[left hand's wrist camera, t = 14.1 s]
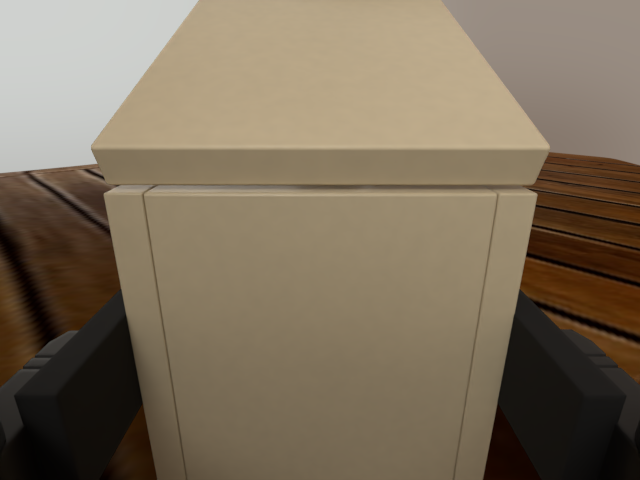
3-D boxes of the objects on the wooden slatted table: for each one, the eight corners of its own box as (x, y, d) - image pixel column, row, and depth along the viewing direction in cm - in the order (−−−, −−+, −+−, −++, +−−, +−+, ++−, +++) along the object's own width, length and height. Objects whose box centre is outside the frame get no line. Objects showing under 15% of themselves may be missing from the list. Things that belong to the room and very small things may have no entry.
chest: (251, 290, 28) (241, 127, 25) (387, 290, 28) (398, 127, 25) (168, 539, 13) (101, 193, 9) (472, 539, 13) (538, 193, 9)
